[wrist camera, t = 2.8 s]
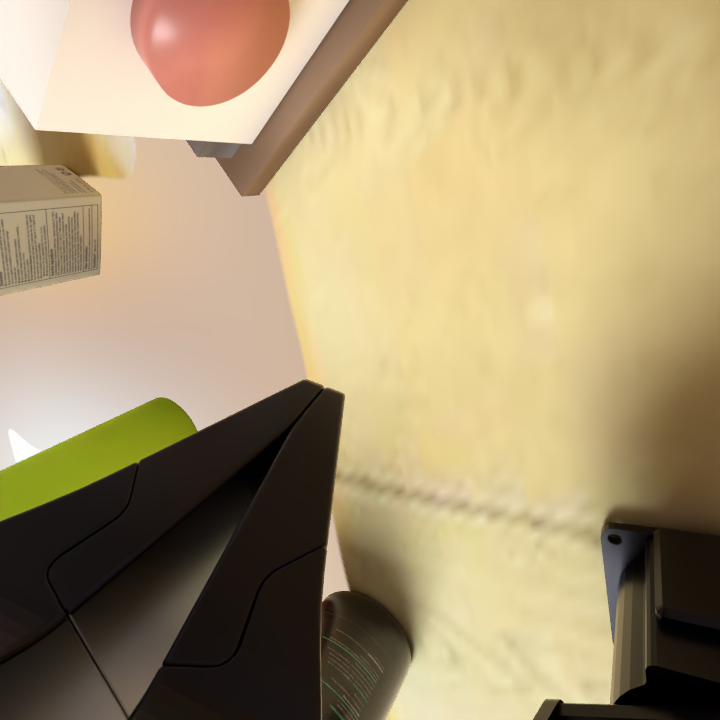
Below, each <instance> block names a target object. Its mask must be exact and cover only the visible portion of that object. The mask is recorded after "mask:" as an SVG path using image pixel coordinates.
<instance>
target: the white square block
mask: <svg viewBox="0 0 720 720" xmlns="http://www.w3.org/2000/svg"><path fill="white" fill-rule="evenodd" d="M348 2H349V0H0V79H1V80H2V82H3V83H4V85H5V86H6V87H7V89H8V90H9V92H10V93H11V95H12V96H13V98H14V99H15V101H16V102H17V104H18V105H19V107H20V108H21V110H22V111H23V113H24V114H25V116H26V117H27V119H28V120H29V122H30V123H31V125H32V126H33V127H34V129H35V130H45V131H60V132H75V133H90V134H105V135H120V136H135V137H151V138H167V139H181V140H196V141H211V142H226V143H241V144H252V143H253V142H254V140H255V139H256V137H257V136H258V134H259V133H260V131H261V130H262V128H263V127H264V125H265V124H266V122H267V121H268V120H269V118H270V117H271V115H272V114H273V112H274V111H275V109H276V108H277V106H278V105H279V103H280V102H281V100H282V99H283V97H284V96H285V94H286V93H287V91H288V90H289V89H290V87H291V86H292V84H293V83H294V81H295V80H296V78H297V77H298V75H299V74H300V72H301V71H302V69H303V68H304V66H305V65H306V63H307V62H308V61H309V59H310V58H311V56H312V55H313V53H314V52H315V50H316V49H317V47H318V46H319V44H320V43H321V41H322V40H323V38H324V37H325V35H326V34H327V33H328V31H329V30H330V28H331V27H332V25H333V24H334V22H335V21H336V19H337V18H338V16H339V15H340V13H341V12H342V10H343V9H344V7H345V6H346V5H347V3H348Z"/></svg>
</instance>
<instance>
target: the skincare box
mask: <svg viewBox="0 0 720 720" xmlns="http://www.w3.org/2000/svg"><path fill="white" fill-rule="evenodd" d="M100 259H101V194H100V193H99V192H97V191H96V190H95V189H94V188H92V187H91V186H90V185H88V184H87V183H86V182H85V181H84V180H82V179H81V178H80V177H78V176H77V175H76V174H74V173H73V172H71V171H70V170H69V169H67V168H66V167H64V166H63V165H24V166H0V296H2V295H6V294H11V293H15V292H20V291H25V290H29V289H34V288H39V287H43V286H48V285H53V284H57V283H62V282H67V281H71V280H76V279H81V278H85V277H90V276H95V275H99V274H100Z"/></svg>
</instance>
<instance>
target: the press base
mask: <svg viewBox="0 0 720 720" xmlns="http://www.w3.org/2000/svg"><path fill="white" fill-rule="evenodd" d="M407 1H408V0H349V2H348V3H347V5H346V6H345V7H344V9H343V10H342V12H341V13H340V15H339V16H338V18H337V19H336V21H335V22H334V24H333V25H332V27H331V28H330V30H329V31H328V33H327V34H326V35H325V37H324V38H323V40H322V41H321V43H320V44H319V46H318V47H317V49H316V50H315V52H314V53H313V55H312V56H311V58H310V59H309V61H308V62H307V63H306V65H305V66H304V68H303V69H302V71H301V72H300V74H299V75H298V77H297V78H296V80H295V81H294V83H293V84H292V86H291V87H290V89H289V90H288V91H287V93H286V94H285V96H284V97H283V99H282V100H281V102H280V103H279V105H278V106H277V108H276V109H275V111H274V112H273V114H272V115H271V117H270V118H269V120H268V121H267V122H266V124H265V125H264V127H263V128H262V130H261V131H260V133H259V134H258V136H257V137H256V139H255V140H254V142H253V143H252V144H241V143H226V142H211V141H196V140H186V141H187V142H188V144H189V145H190V147H191V148H192V150H193V151H194V153H195V154H196V156H197V157H215V158H216V159H217V161H218V162H219V164H220V165H221V167H222V168H223V170H224V171H225V172H226V174H227V176H228V177H229V178H230V180H231V181H232V183H233V184H234V186H235V187H236V189H237V190H238V192H239V193H240V195H241V196H254V195H260V193H261V192H262V191H263V189H264V188H265V187H266V185H267V184H268V183H269V182H270V180H271V179H272V178H273V176H274V175H275V174H276V172H277V171H278V170H279V168H280V167H281V166H282V164H283V163H284V162H285V161H286V159H287V158H288V157H289V155H290V154H291V153H292V151H293V150H294V149H295V147H296V146H297V145H298V144H299V142H300V141H301V140H302V138H303V137H304V136H305V134H306V133H307V132H308V130H309V129H310V128H311V126H312V125H313V124H314V123H315V121H316V120H317V119H318V117H319V116H320V115H321V113H322V112H323V111H324V109H325V108H326V107H327V106H328V104H329V103H330V102H331V100H332V99H333V98H334V96H335V95H336V94H337V92H338V91H339V90H340V88H341V87H342V86H343V85H344V83H345V82H346V81H347V79H348V78H349V77H350V75H351V74H352V73H353V71H354V70H355V69H356V68H357V66H358V65H359V64H360V62H361V61H362V60H363V58H364V57H365V56H366V54H367V53H368V52H369V50H370V49H371V48H372V47H373V45H374V44H375V43H376V41H377V40H378V39H379V37H380V36H381V35H382V33H383V32H384V31H385V30H386V28H387V27H388V26H389V24H390V23H391V22H392V20H393V19H394V18H395V16H396V15H397V14H398V13H399V11H400V10H401V9H402V7H403V6H404V5H405V3H406V2H407Z"/></svg>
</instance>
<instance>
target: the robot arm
mask: <svg viewBox="0 0 720 720" xmlns="http://www.w3.org/2000/svg"><path fill="white" fill-rule="evenodd" d="M344 400H345V395H344V394H343V393H341V392H339V391H336V390H334V389H331V388H325V389H324V387H323V386H322V385H320V384H318V383H315V382H313V381H310V380H302V381H300V382H298V383H296V384H294V385H292V386H290V387H288V388H286V389H284V390H282V391H280V392H278V393H276V394H274V395H272V396H270V397H267V398H265V399H263V400H261V401H259V402H257V403H255V404H253V405H251V406H249V407H247V408H245V409H243V410H241V411H239V412H237V413H235V414H233V415H231V416H229V417H227V418H225V419H223V420H221V421H219V422H217V423H215V424H213V425H211V426H208V427H206V428H204V429H202V430H200V431H198V432H196V433H194V434H192V435H190V436H188V437H186V438H184V439H182V440H180V441H178V442H176V443H174V444H172V445H170V446H168V447H166V448H164V449H162V450H160V451H158V452H156V453H154V454H152V455H150V456H148V457H145V458H143V459H141V460H140V461H139V464H138V463H133V464H131V465H129V466H127V467H125V468H123V469H121V470H119V471H117V472H115V473H113V474H110V475H108V476H106V477H104V478H102V479H100V480H97V481H95V482H93V483H91V484H89V485H87V486H85V487H82V488H80V489H78V490H76V491H73V492H71V493H69V494H66V495H64V496H61V497H59V498H57V499H54V500H52V501H49V502H47V503H45V504H42V505H40V506H37V507H35V508H32V509H30V510H27V511H25V512H22V513H20V514H17V515H15V516H12V517H10V518H7V519H5V520H2V521H0V720H322V694H321V607H322V595H323V583H324V571H325V562H326V554H327V544H328V535H329V527H330V519H331V510H332V502H333V493H334V485H335V476H336V468H337V460H338V451H339V443H340V434H341V426H342V417H343V409H344ZM610 534H616V535H618V536H619V537H620V538H613V537H611V536H610ZM601 544H602V552H603V561H604V570H605V578H606V587H607V596H608V604H609V613H610V622H611V630H612V639H613V644H614V652H613V667H612V682H611V697H610V704H576V703H564V702H563V701H562V700H554V699H546V700H545V701H544V702H543V704H542V706H541V707H540V709H539V710H538V712H537V714H536V715H535V717H534V719H533V720H720V536H717V535H710V534H702V533H694V532H686V531H678V530H670V529H659V528H652V527H644V526H636V525H628V524H620V523H607V524H605V525H604V526H603V527H602V531H601Z"/></svg>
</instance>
